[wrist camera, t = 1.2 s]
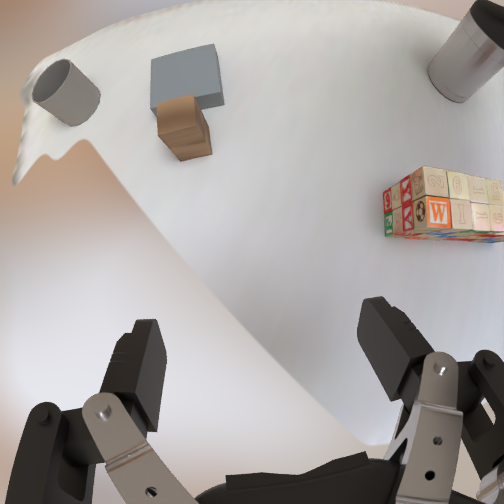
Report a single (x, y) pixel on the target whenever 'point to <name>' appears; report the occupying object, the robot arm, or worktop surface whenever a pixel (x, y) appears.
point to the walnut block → (183, 127)
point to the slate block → (187, 77)
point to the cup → (66, 93)
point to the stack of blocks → (445, 207)
